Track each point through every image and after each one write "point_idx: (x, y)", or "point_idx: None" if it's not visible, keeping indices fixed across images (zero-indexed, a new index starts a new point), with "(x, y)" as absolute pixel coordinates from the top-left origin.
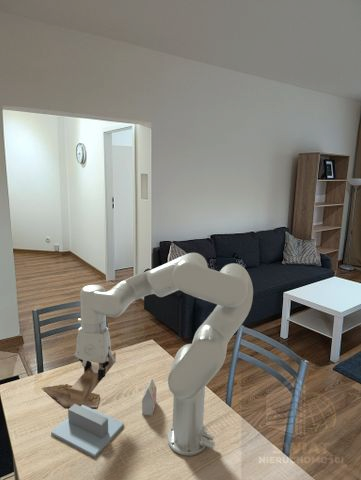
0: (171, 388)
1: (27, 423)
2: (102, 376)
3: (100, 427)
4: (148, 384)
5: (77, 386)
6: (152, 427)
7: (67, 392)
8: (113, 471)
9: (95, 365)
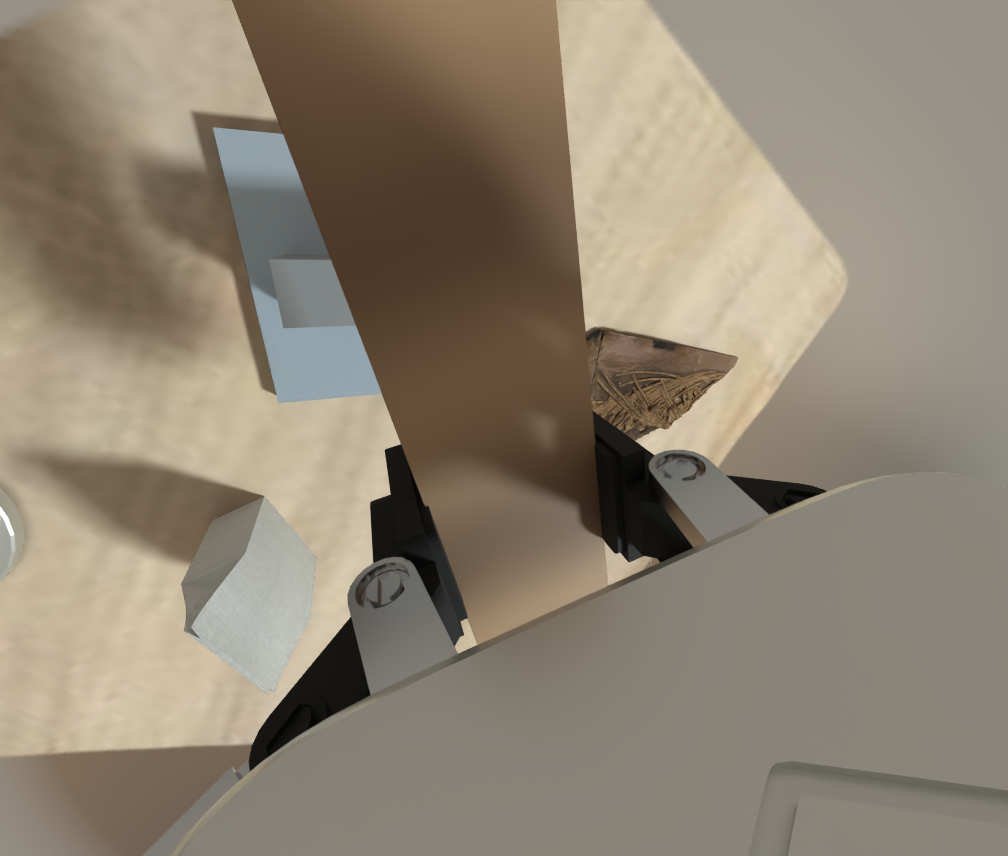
0: None
1: (683, 168)
2: (381, 502)
3: (284, 258)
4: (278, 642)
5: None
6: (138, 469)
7: (641, 397)
8: (5, 84)
9: (554, 559)
